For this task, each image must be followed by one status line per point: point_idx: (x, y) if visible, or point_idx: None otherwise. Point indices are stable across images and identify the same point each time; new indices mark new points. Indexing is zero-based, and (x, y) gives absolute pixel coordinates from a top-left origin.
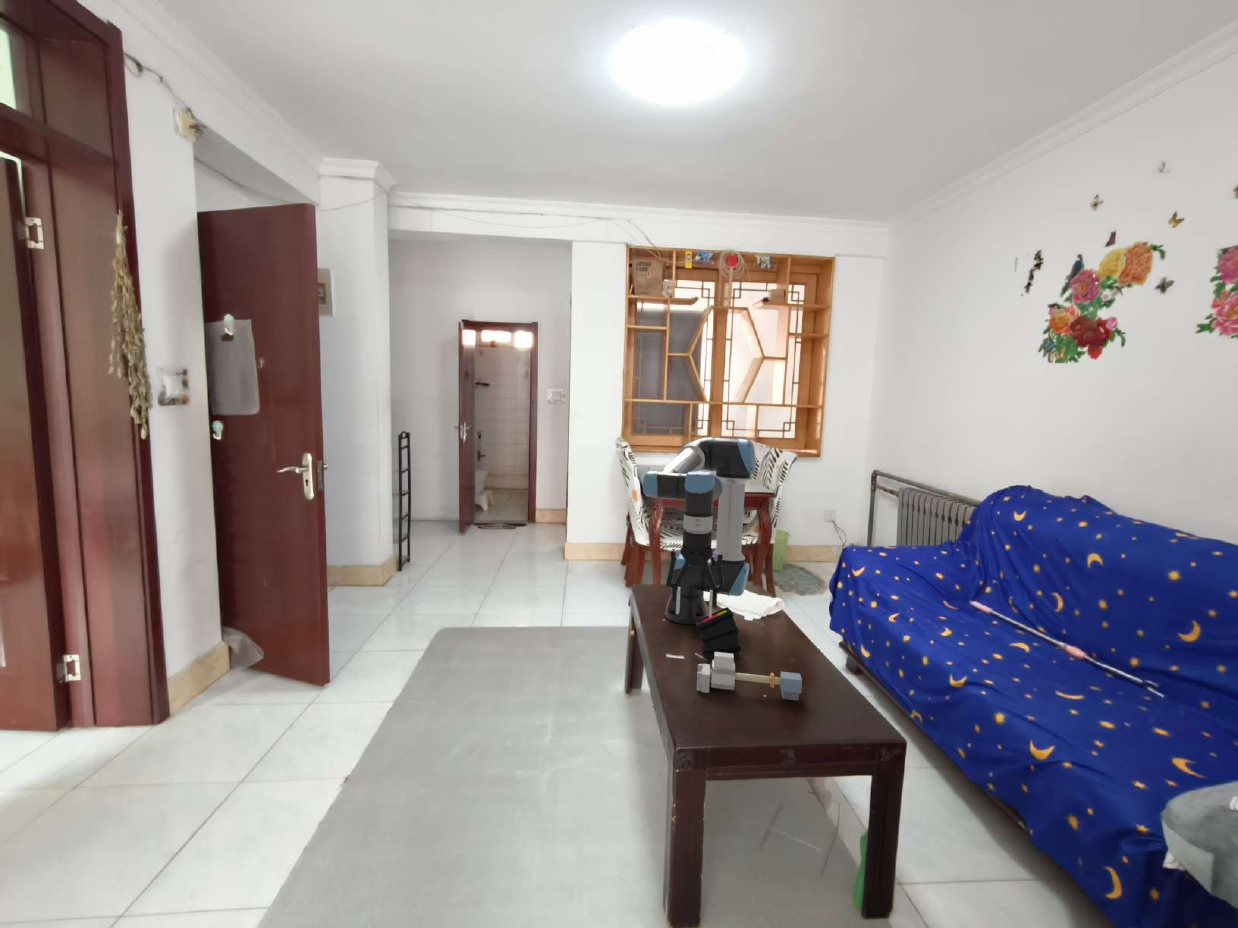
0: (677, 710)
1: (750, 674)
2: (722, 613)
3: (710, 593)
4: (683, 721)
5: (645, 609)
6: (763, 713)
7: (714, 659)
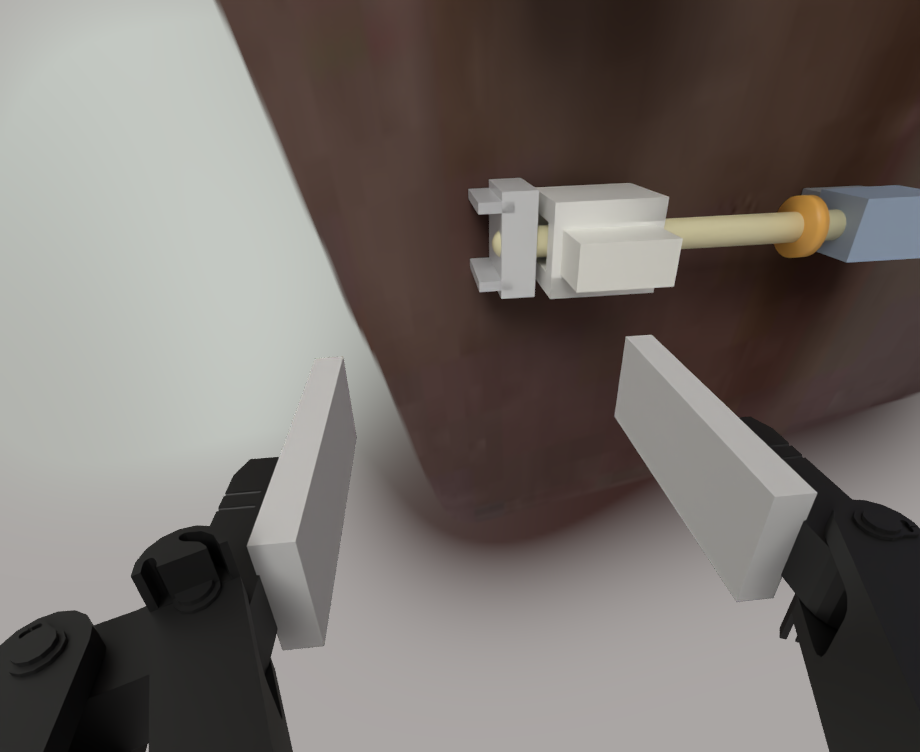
0: (418, 405)
1: (716, 234)
2: None
3: (743, 598)
4: (443, 449)
5: None
6: (690, 345)
7: (571, 285)
